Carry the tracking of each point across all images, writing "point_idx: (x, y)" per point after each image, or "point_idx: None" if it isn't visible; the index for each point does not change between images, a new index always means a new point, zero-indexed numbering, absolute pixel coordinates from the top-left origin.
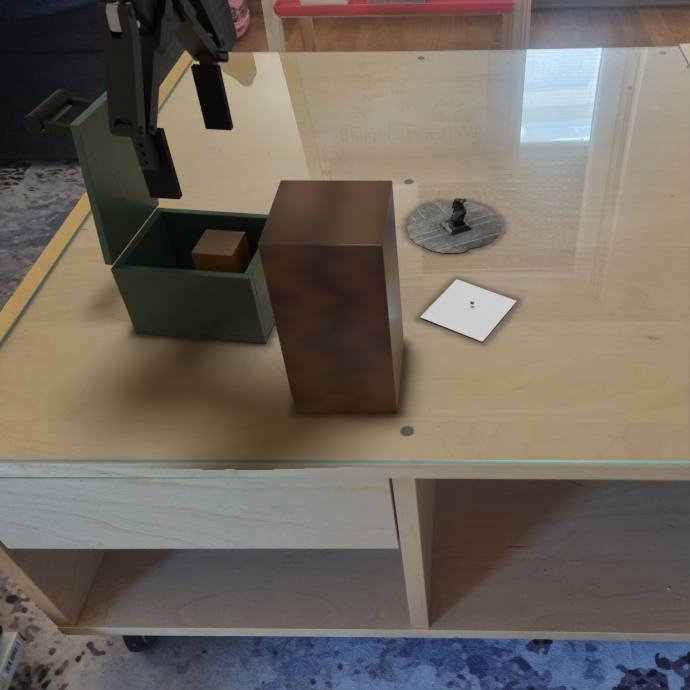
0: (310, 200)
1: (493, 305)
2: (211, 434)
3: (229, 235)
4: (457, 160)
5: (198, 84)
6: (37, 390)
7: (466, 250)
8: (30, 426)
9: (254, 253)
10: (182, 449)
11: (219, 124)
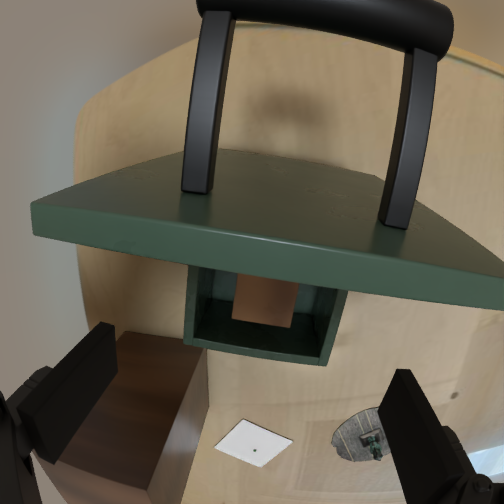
0: (111, 498)
1: (256, 457)
2: (97, 268)
3: (281, 309)
4: (468, 422)
5: (428, 448)
6: (142, 90)
7: (333, 446)
8: (102, 107)
9: (321, 297)
10: (83, 248)
11: (388, 402)
